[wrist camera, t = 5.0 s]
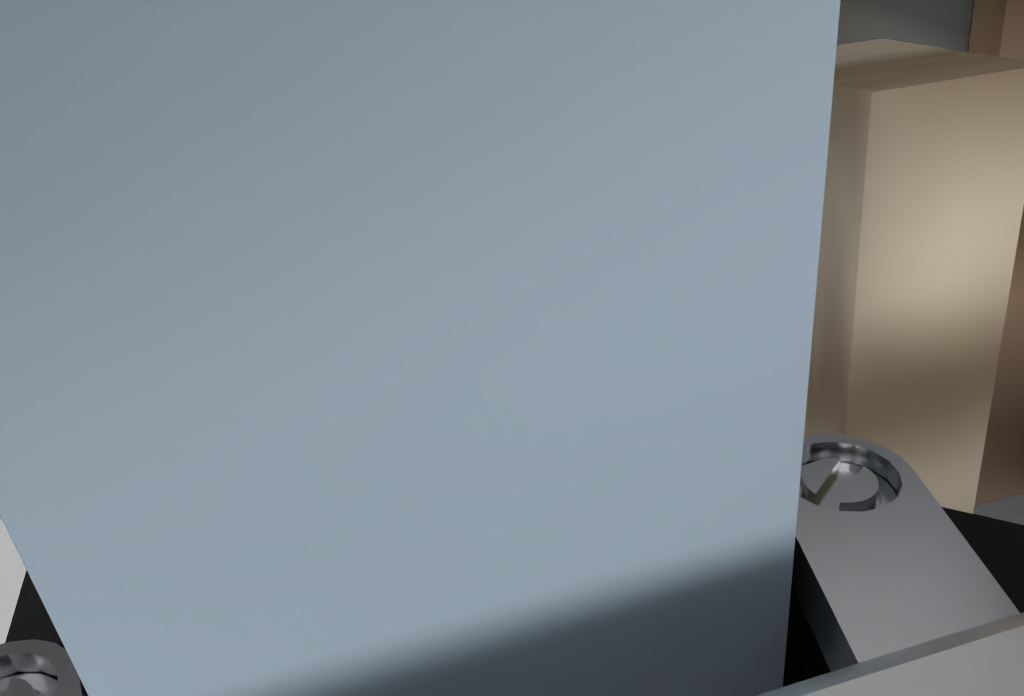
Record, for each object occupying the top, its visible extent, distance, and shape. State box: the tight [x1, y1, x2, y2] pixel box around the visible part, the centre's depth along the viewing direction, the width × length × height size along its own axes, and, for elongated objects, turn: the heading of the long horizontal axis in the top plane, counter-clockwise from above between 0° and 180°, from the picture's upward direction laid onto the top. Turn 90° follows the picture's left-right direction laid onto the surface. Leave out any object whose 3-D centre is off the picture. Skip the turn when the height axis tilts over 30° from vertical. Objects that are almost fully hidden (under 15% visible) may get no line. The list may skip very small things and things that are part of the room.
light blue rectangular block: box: [0, 0, 841, 696], centre depth 9 cm, size 12×4×6 cm, turn 6°
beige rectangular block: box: [804, 38, 1024, 514], centre depth 20 cm, size 12×4×5 cm, turn 6°
